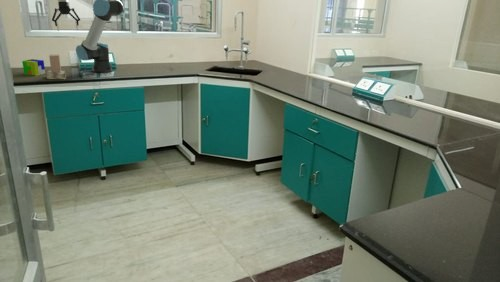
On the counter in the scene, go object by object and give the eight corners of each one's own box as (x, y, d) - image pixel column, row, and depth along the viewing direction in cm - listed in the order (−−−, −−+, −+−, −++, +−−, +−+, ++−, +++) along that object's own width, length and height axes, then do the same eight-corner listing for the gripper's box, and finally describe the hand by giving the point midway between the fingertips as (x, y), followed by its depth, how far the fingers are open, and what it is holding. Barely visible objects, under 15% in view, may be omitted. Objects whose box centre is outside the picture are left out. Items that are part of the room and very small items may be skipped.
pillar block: (61, 70, 281) (59, 54, 277) (60, 72, 276) (58, 55, 271) (52, 70, 279) (50, 54, 274) (51, 72, 274) (49, 55, 269)
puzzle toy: (45, 73, 291) (43, 60, 288) (35, 75, 282) (34, 62, 278) (33, 72, 293) (32, 59, 289) (24, 74, 284) (22, 61, 280)
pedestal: (66, 76, 286) (65, 70, 284) (65, 79, 276) (64, 73, 274) (48, 76, 282) (48, 70, 280) (47, 79, 271) (46, 73, 270)
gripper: (80, 2, 300) (85, 30, 305) (45, 2, 290) (50, 31, 295) (80, 1, 293) (85, 29, 298) (44, 1, 283) (50, 30, 288)
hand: (68, 30), depth 296 cm, fingers open, 13 cm apart
